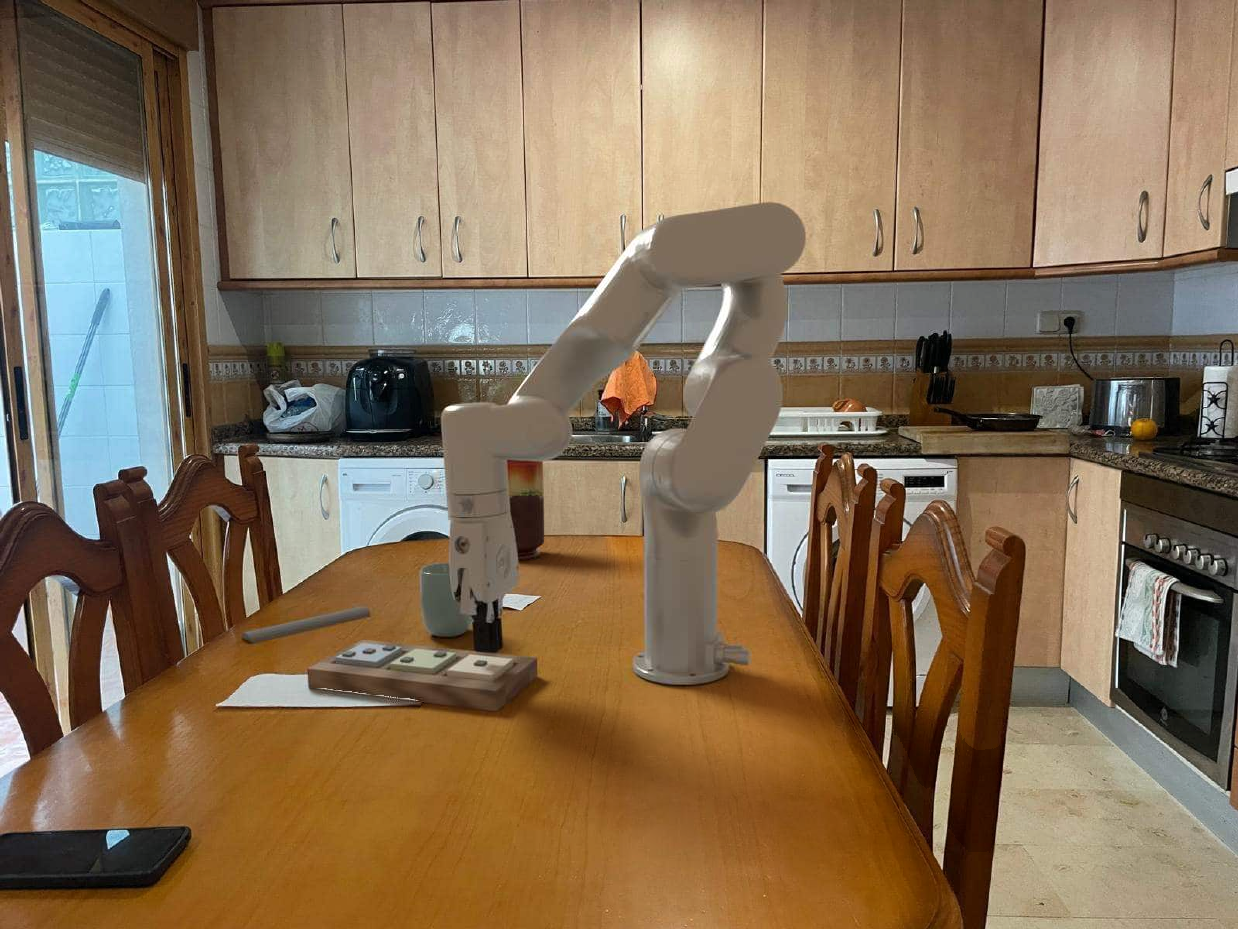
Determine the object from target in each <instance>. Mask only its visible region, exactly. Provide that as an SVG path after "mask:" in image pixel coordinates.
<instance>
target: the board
mask: <svg viewBox="0 0 1238 929" xmlns="http://www.w3.org/2000/svg"><path fill="white" fill-rule="evenodd" d="M362 643H368V644H377V645H392V646H396V647H402V655H400V656H398V657H397V658H395V659H393V660H391V661H390V662H388V663H386V664H385V665H383V666H381V667H379V668H378V669H376V668H368V667H359V666H350V665H342V664H336V661H335V657H337V656H339V655H341V654H342V653H344V652H346V651H348V650H350V649H352V648H354V647H356V646H358V645H360V644H362ZM414 649H424V650H433V651H443V652H452V653H456V661H455V662H453V663H452V664H450V665H449V666H447V667H446V668H444V669H443V670H441V671H440V672H438V673H437V674H435V675H428V674H420V673H411V672H402V671H394V670H390V663H392V662H393V661H395V660H397V659H398V658H400V657H402V656H404V655H405V654H407V653H409V652H410V651H412V650H414ZM470 654H471V655H481V656H490V657H499V658H509V659H513V668H511V669H510V670H509V671H507V672H506V673H505V674H504V675H502V676H501V677H500V678H498V679H497V680H496V681H495V682H489V681H480V680H471V679H463V678H454V677H447V670H448V669H449V668H451V667H452V666H454V665H455V664H457V663H458V662H460V661H461V660H463V659H464V658H466V657H467V656H469V655H470ZM306 670H307V687H310V689H315V688H327V689H333V690H342V691H352V692H358V693H366V694H370V695H384V696H389V697H390V696H391V697H396V698H397V697H398V698H410V699H415V700H418V701H420V702H419V703H426V704H428V703H429V704H433V705H435V704H436V705H442V706H450V707H457V708H466V709H473V710H482V711H490V712H498V710H501V708H502V707H504V706H505V705H506V704H507V703H509V701H511V700H512V699H513V698H514V697H516V696H517V695H518V694H519V693H520V692H521V691H523V690H524V689H525V688H526V687H527V686H529V684H531V683H532V682H533V681H534V680H535V679H536V678H538V657H532V656H522V655H512V654H503V653H485V652H476V651H475V650H468V649H467V650H464V649H457V648H448V647H447V648H446V647H437V646H427V645H418V644H410V643H397V642H389V641H379V640H369V639H361V640H359V641H358V642H356V643H354V644H352V645H350V646H348V647H346V648H344V649H342V650H340V651H338V652H337V653H333V655H330V656H329V657H327V658H324V659H323V660H320V661H319V662H317V663H315V664H313V665H312V666H311V665H310V667H307V669H306ZM370 695H369V696H370Z"/></svg>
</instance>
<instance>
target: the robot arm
mask: <svg viewBox="0 0 1238 929" xmlns="http://www.w3.org/2000/svg"><path fill="white" fill-rule="evenodd" d="M806 234H807V232H806V230H805V225H804V222H803V221H802V219H801V217H800V216H799V214H798V213H797V212H795V210H793V209H792V208H791V207H789V206H787V205H785V204H782V203H781V202H773V201H768V202H767V201H766V202H757V203H752V204H751V203H750V204H745V205H739V206H733V207H726V208H720V209H712V210H708V211H707V210H706V211H699V212H691V213H690V212H689V213H684V214H678V215H677V214H676V215H672V216H668V217H664V218H662V219H660V220H659V221H657V222H655V223H653V224H651V225H649V226H646V227H645V228H643V229H642V230H641V231H639V233H637V235H636V236H634V238H633V239H632V240H631V242H630V243H629V244H628V246H627V247H626V248H625V249H624V250H623V252H622V253H621V255H620V256H619V257H618V259H617V260H616V261H615V263H614V264H613V266H611V269H609V270H608V272H607V274H606V275H605V277H604V278H603V279H602V280H601V282H600V283H599V284H598V285H597V287H596V289H595V290H594V291H593V293H592V294H591V295H590V297H589V298H587V300H586V302H585V303H584V305H583V306H582V307H581V308H580V310H579V311H578V312H577V314H575V316H574V317H573V319H572V320H571V321H570V322H569V324H567V326H566V327H565V328H564V330H563V331H562V332H561V334H560V336H559V337H558V338H557V339H556V340H555V341H554V343H553V344H552V346H550V348H549V349H548V350H547V352H546V353H545V354H544V355H543V356H542V357H541V358H540V359H539V361H538V362H537V363H536V365H535V366H534V368H532V370H531V371H530V372H529V374H528V375H527V376H526V378H525V379H524V380H523V382H522V383H521V384H520V386H519V388H518V389H517V390H516V392H515V393H514V394H513V395H512V397H511V398H510V399H509V401H508V403H507V404H502V405H499V404H497V403H494V402H487V401H486V402H483V401H482V402H481V401H480V402H466V403H465V402H464V403H456V404H451V405H449V406H447V407H445V408H444V409H443V411H442V412H441V416H440V425H441V426H440V427H441V438H442V451H443V452H442V453H443V463H444V465H443V466H444V481H445V491H446V493H445V494H446V508H447V509H446V510H447V518H448V520H449V521H450V524H449V541H448V542H449V544H448V545H449V547H448V548H449V550H448V551H449V552H448V559H449V561H448V562H449V565H450V582H451V591H452V596H453V598H454V600H455V601H457V602H461V606H460V613H461V615H469V616H470V621H471V627H472V636H473V637H472V638H473V649H474V650H473V651H476V652H485V653H496V654H498V652H499V651H501V650H502V649H503V648H504V640H503V639H504V638H503V625H502V623H503V622H502V618H501V617H502V616H503V613H504V612H503V610H504V609H503V605H504V604H503V601H504V597H505V596H506V595H507V593H508V592H511V590H513V589H515V588H516V587H517V586H518V584H519V581H520V578H521V577H520V566H519V561H518V555H517V547H516V540H515V533H514V527H513V523H512V518H511V515H510V499H509V488H508V487H509V484H508V469H507V460H522V461H543V462H546V461H549V460H553V459H555V458H558V457H559V456H560V455H561V454H562V453H564V451H565V450H566V449H567V448H568V446H569V444H570V443H571V440H572V435H573V426H572V425H573V424H572V422H571V418H570V417H569V416H570V415H571V413H572V412H573V411H574V409H575V408H576V407H577V405H578V404H579V403H580V402H581V401H582V399H583V398H584V396H586V394H587V393H588V392H590V390H592V388H594V386H595V385H596V384H598V383H599V382H600V381H601V380H602V379H603V378H605V377H606V376H608V375H609V374H611V373H612V372H615V371H616V370H618V369H619V368H620V367H622V366H623V365H624V364H625V363H626V362H627V361H629V360H630V359H631V358H632V356H634V354H635V353H636V352H637V351H638V349H639V348H640V346H641V345H642V344H643V343H644V341H645V339H646V338H647V337H648V335H649V334H650V332H651V331H652V330H653V329H654V326H656V324H657V323H658V321H659V320H660V319H661V317H662V316H663V314H664V313H665V312H666V310H667V309H668V308H669V307H670V306H671V305H672V303H673V302H674V300H675V299H676V297H677V296H678V295H679V293H680V292H681V291H683V290H686V289H691V288H701V287H706V286H707V287H708V286H716V285H720V286H721V291H722V299H721V300H722V301H721V306H720V310H719V312H718V315H717V318H716V319H715V322H714V324H713V326H712V329H711V331H710V333H709V335H708V337H707V338H706V341H705V343H704V344H703V347H702V349H701V350H700V352H699V354H698V357H697V358H696V360H695V362H694V364H693V366H692V368H691V369H690V371H689V373H688V375H687V378H686V379H685V383H684V385H683V386H684V387H683V390H682V392H683V393H682V400H683V403H684V407H685V409H686V410H687V412H688V414H690V416H691V417H692V418H691V421H690V422H689V425H688V426H687V428H668V429H666V430H663V431H661V432H659V433H657V434H656V435H655V436H653V437H652V438H651V439H650V440H649V442H648V443H647V444H646V445H645V447H644V449H643V452H642V453H641V457H640V462H639V469H638V473H639V474H638V476H639V478H638V479H639V485H640V486H639V488H640V496H641V504H642V514H643V515H642V516H643V542H644V543H643V544H644V545H643V546H644V548H643V549H644V550H643V579H644V583H643V584H644V585H643V592H644V593H643V594H644V595H643V598H644V604H643V605H644V606H643V609H644V614H643V615H644V618H643V619H644V622H643V623H644V625H643V626H644V650H642V651H640V652H639V653H637V654H636V655H635V656H634V657H633V659H632V669H633V671H634V673H635V674H637V675H638V676H639V677H641V678H643V679H644V680H648V681H650V682H654V683H659V684H664V685H675V686H690V685H701V684H707V683H711V682H714V681H717V680H719V679H722V678H723V677H725V676H726V675H727V674H728V673H729V671H730V664H731V663H732V664H735V665H739V666H740V665H742V666H749V665H750V662H751V649H745V645H743V644H742V645H741V644H727V642H726V641H724V633H723V632H721V631H720V632H719V631H718V584H719V583H718V581H719V580H718V573H719V572H718V568H719V566H718V560H719V559H718V556H719V534H718V533H719V532H718V519H717V513H718V512H720V511H722V510H724V509H725V508H727V507H729V506H730V505H731V503H733V501H734V500H736V498H737V497H738V495H739V494H740V492H741V491H742V489H743V488H744V487H745V485H746V482H747V480H748V479H749V477H750V474H751V473H752V471H753V468H754V467H755V465H756V463H757V461H758V459H759V457H760V455H761V453H762V451H763V449H764V447H765V445H766V444H767V441H768V439H769V437H770V436H771V433H772V431H773V428H774V427H775V425H776V423H777V420H778V418H779V417H780V416H779V415H780V412H781V409H782V405H783V394H784V393H783V391H784V390H783V384H782V380H781V378H780V374H779V373H778V371H777V369H776V368H775V367H774V365H773V364H772V363H771V361H772V359H773V356H774V353H776V352H775V351H776V349H777V347H778V345H779V342H780V340H781V337H782V335H783V333H784V330H785V327H786V322H787V316H788V299H787V294H786V290H785V289H786V288H785V284H784V282H783V277H782V274H783V273H785V272H787V271H789V270H790V269H791V268H793V267H794V266H796V264H797V263H798V261H799V260H800V258H801V257H802V255H803V252H804V250H805V248H806V241H807V240H806V239H807V237H806V236H807V235H806Z"/></svg>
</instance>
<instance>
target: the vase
mask: <svg viewBox="0 0 1238 929" xmlns="http://www.w3.org/2000/svg"><path fill="white" fill-rule="evenodd" d="M543 462H544V461H522V460H507V469H508V484H509V487H508V488H509V499H510V515H511V518H512V523H513V527H514V533H515V540H516V547H517V555H518V562H519V561H529V560H533V559H536V558H539V557H540V556H541V555H540V554H541V553H540V551H539V550H538V548H540V547H541V546H542V545H544V543H545V505H544V504H545V502H544V500H545V499H544V495H545V494H544V463H543Z"/></svg>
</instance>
